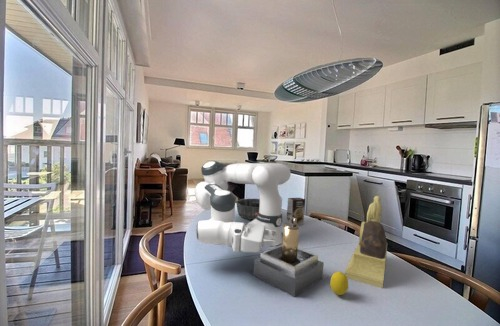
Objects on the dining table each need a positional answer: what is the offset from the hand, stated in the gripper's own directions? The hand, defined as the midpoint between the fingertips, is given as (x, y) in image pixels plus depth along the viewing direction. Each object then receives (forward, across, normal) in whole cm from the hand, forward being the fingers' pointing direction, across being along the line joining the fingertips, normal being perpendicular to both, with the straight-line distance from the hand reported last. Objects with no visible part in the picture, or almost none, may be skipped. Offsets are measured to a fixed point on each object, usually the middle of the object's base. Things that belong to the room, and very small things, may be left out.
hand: (276, 238), depth 94 cm
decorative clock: (+38, -15, -14) cm, 43 cm away
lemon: (+21, +8, -14) cm, 27 cm away
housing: (+5, -1, -14) cm, 15 cm away
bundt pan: (-15, -76, -15) cm, 79 cm away
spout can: (+5, -1, -8) cm, 9 cm away
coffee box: (+11, -68, -14) cm, 70 cm away
